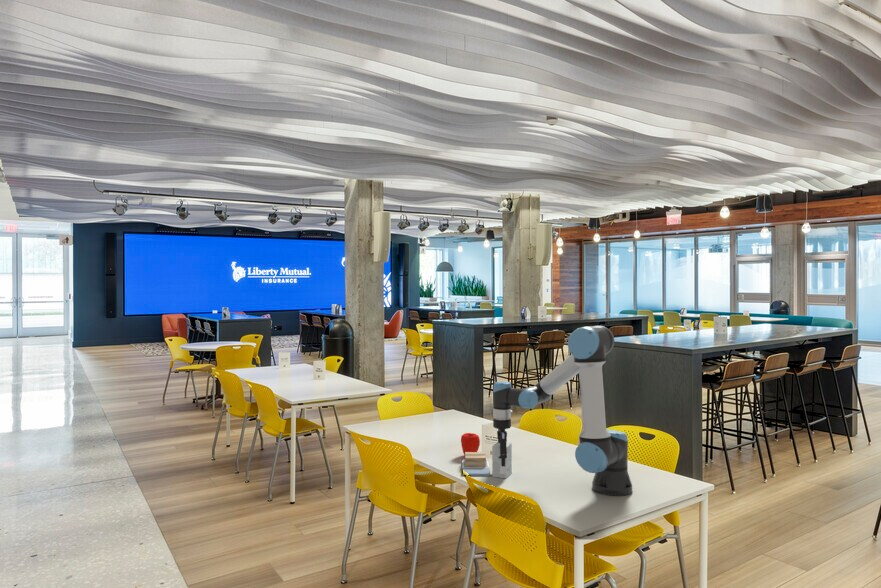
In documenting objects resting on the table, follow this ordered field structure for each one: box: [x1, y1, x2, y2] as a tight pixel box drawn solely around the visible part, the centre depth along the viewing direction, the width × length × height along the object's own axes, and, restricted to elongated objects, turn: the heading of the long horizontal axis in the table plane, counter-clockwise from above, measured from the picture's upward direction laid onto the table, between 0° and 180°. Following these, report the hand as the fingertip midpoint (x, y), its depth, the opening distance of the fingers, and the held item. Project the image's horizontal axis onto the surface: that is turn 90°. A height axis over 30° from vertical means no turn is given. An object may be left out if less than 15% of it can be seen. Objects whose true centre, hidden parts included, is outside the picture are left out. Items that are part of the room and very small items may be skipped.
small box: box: [491, 441, 513, 479], centre depth 248 cm, size 8×6×13 cm
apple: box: [460, 432, 481, 456], centre depth 277 cm, size 9×9×11 cm
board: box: [461, 459, 491, 477], centre depth 257 cm, size 20×12×1 cm, turn 178°
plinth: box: [464, 451, 487, 467], centre depth 261 cm, size 9×9×4 cm
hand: (501, 469), depth 248 cm, fingers open, 12 cm apart
